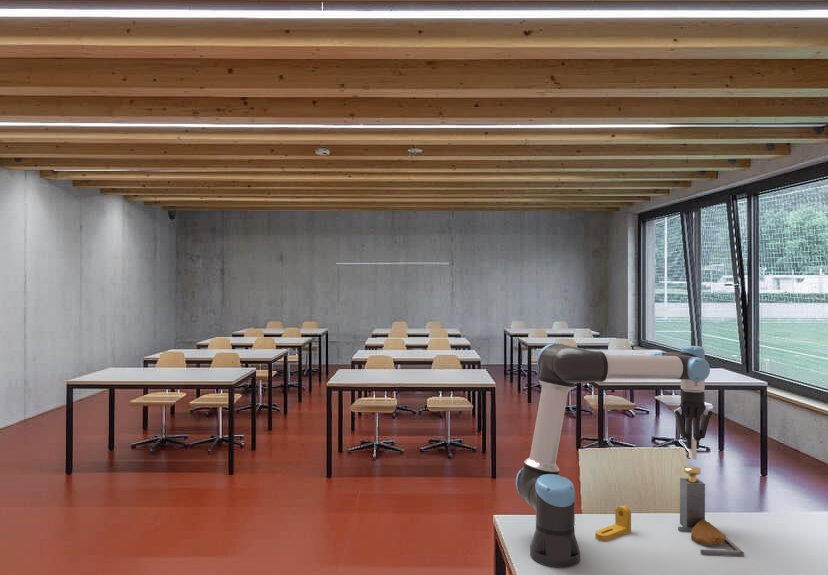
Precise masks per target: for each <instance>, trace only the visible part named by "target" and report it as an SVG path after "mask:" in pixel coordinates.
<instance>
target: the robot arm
mask: <svg viewBox="0 0 828 575" xmlns="http://www.w3.org/2000/svg"><path fill="white" fill-rule="evenodd" d="M705 356H706V355H705V349H704V348H703V347H702V346H698V345H682V346H681V347H680V351H677V352H673V351H672V352H671V351H667V352H666V351H665V352H664V351H663V352H662V351H659V352H652V353H650V354H649V355H647V354H646V355H645V354H644V355H643V354H640V355H636V354H635V355H634V354H631V355H630V354H606V353H605V352H604V351H599V350H597V351H596V350H589V349H586V348H581V347H576V346H571V345H568V344H564V343H558V342H557V343H549V344H547V345H546V346H544V347H542V349H541V350H539V353H538V354H537V358H536V364H537V368H538V370H539V375H538V382H539V384H540V386H541V391H540V397H539V404H538V409H537V414H536V419H535V424H534V425H535V426H534V432H533V436H532V442H531V448H530V454H529V457H528V458H526V459H525V460H524V461H523V466H522V468H521V469H520V470H518V472H517V474H516V477H515V488H516V491H517V492H518V495H519V496H520V497H521V498H522V500H523V501H524V502H525V503H527V504H528V505H529V506H530V507H531V508H532V509H533V510H534V511H535V530H534V533H533V536H532V539H531V542H530V545H529V555H530V557H531V559H533V560H534V561H535V562H537V563H539V564H542V565H544V566H548V567H553V568H569V567H573V566H576V565H578V564H579V563H580V561H581V549H580V546H579V542H578V540H577V537H576V533H575V525H576V524H575V520H576V519H575V518H576V515H575V514H576V511H575V510H576V508H575V506H576V503H575V501H576V492H575V491H576V490H575V486H574V483H573V482H572V481H571V480H570V479H568V478H567V477H565V476H561V475H559V474H560V468H559V466H558V465H557V463H556V462H557V458H558V453H559V452H558V451H559V446H560V440H561V436H562V434H561V433H562V429H563V424H564V417H565V413H566V412H565V411H566V405H567V401H568V395H569V392H570V391H572V390H573V389H574V388H575V384H581V383H603V382H605V381H606V380H621V379H622V380H680V389H681V390H680V403H679V407H677V408H676V409H673V410H672V413H673V414H674V416H675V419H676V424H677V426H678V431H679V434H680V437H681V438H683V439H685V442H686V443H685V445H686V446H685V447H686V449H687V450H688V458H690V459H691V460H697V450H699V449H700V441H701V440H702V439H705V438H706V434H707V430H708V426H709V423H710V418H711V417H712V415H713V411H712V410H710V409H708V408H707V407H706V405H705V404H706V403H705V399H706V398H705V397H706V395H705V394H706V393H705V392H704V390H705V386H706V385H705V383H706V382H705V381H706V379H707V378H708V377H709V376H710V372H711V367H710V363H709V362H708V361H707V360H706V358H705ZM682 413H683V414H684V418H685V424H684V419H683V417H682ZM702 415H703V416H702ZM701 416H702V420H701ZM700 421H701V422H700Z"/></svg>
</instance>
